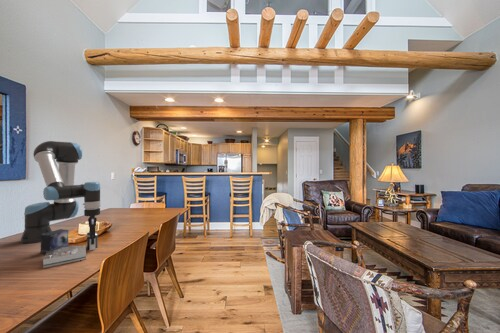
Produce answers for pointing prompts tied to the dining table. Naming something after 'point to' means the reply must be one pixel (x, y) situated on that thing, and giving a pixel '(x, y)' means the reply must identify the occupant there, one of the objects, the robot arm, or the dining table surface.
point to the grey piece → (64, 255)
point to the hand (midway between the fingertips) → (92, 247)
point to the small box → (54, 240)
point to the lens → (89, 240)
